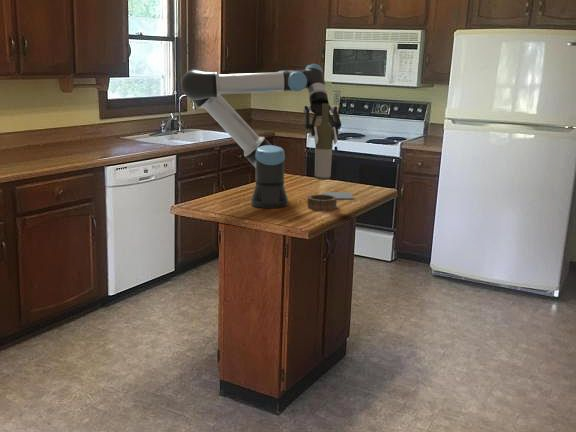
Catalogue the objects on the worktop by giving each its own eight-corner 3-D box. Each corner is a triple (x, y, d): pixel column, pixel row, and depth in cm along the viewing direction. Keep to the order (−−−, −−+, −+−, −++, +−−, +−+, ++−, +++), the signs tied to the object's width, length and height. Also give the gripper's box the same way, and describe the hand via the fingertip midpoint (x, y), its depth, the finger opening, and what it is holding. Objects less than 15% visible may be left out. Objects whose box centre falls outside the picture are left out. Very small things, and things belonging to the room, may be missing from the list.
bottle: (333, 180, 256) (337, 104, 249) (317, 181, 254) (320, 104, 246) (327, 177, 262) (330, 102, 255) (311, 177, 260) (314, 102, 253)
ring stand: (309, 210, 255) (309, 200, 254) (306, 203, 266) (306, 194, 265) (337, 210, 256) (338, 200, 255) (333, 203, 267) (333, 194, 266)
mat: (326, 199, 275) (326, 198, 274) (322, 193, 286) (322, 192, 286) (354, 199, 276) (354, 198, 275) (349, 193, 287) (349, 192, 287)
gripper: (339, 103, 267) (348, 147, 256) (292, 102, 264) (299, 147, 252) (343, 91, 261) (353, 136, 249) (295, 90, 257) (303, 135, 246)
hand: (326, 141), depth 251 cm, fingers closed on bottle, 7 cm apart
